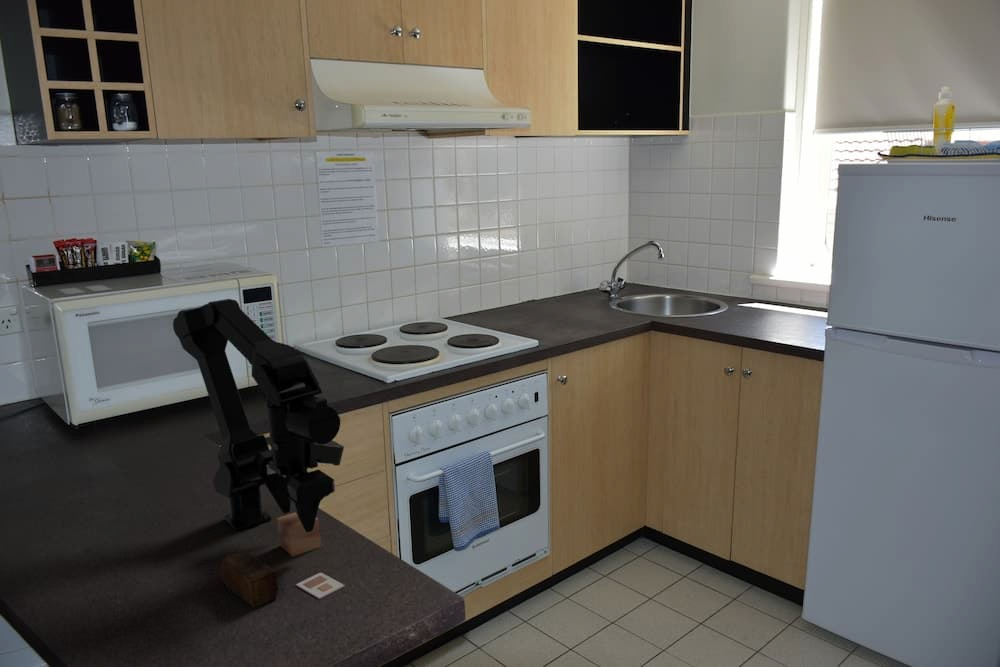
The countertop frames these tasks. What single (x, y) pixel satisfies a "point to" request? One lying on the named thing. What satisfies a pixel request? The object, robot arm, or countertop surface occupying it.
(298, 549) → the top block
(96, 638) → the countertop surface
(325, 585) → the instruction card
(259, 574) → the brick
